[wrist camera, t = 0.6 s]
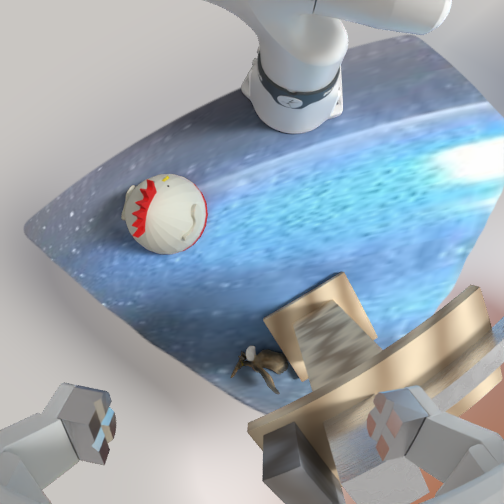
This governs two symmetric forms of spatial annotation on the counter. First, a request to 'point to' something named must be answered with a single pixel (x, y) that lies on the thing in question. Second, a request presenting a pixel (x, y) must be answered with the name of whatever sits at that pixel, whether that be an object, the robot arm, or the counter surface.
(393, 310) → the counter surface
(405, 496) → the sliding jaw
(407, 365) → the shelf
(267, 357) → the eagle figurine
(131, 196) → the kitchen timer
